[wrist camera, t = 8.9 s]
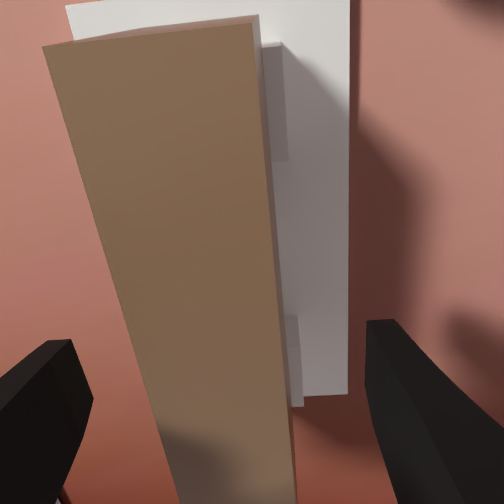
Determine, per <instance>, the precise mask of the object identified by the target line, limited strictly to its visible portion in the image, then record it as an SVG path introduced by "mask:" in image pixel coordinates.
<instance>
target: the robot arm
mask: <svg viewBox="0 0 504 504" xmlns="http://www.w3.org/2000/svg"><path fill="white" fill-rule="evenodd" d="M365 388H366V393H367V398H368V403H369V408H370V413H371V418H372V423H373V427H374V430H375V433H376V436H377V439H378V443H379V446H380V449H381V452H382V455H383V458H384V461H385V465H386V468H387V471H388V474H389V477H390V480H391V483H392V486H393V489H394V492H395V496H396V499H397V502H398V504H504V428H503V427H502V426H501V425H499V424H498V423H497V422H496V421H495V420H494V419H492V418H491V417H490V416H489V415H488V414H487V413H486V412H485V411H483V410H482V409H481V408H480V407H479V406H478V405H477V404H476V403H474V402H473V401H472V400H471V399H470V398H469V397H468V396H467V395H466V394H465V393H464V392H463V391H462V390H461V389H460V388H458V387H457V386H456V385H455V384H454V383H453V382H452V381H451V380H450V379H449V378H448V377H447V376H446V375H445V374H444V373H443V372H442V371H441V370H440V369H439V368H438V367H437V366H436V365H435V364H434V362H433V361H432V360H431V359H430V358H429V357H428V356H427V355H426V354H425V353H424V352H423V351H422V350H421V349H420V348H419V346H418V345H417V344H416V343H415V342H414V341H413V340H412V339H411V338H410V336H409V335H408V334H407V333H406V332H405V331H404V330H403V328H402V327H401V326H400V325H399V324H398V323H397V322H396V321H395V320H394V319H386V320H370V321H367V330H366V363H365ZM93 400H94V398H93V395H92V393H91V390H90V387H89V385H88V382H87V379H86V377H85V374H84V372H83V369H82V366H81V364H80V361H79V359H78V356H77V353H76V351H75V348H74V345H73V343H72V340H71V339H65V340H49V341H46V342H45V343H43V344H42V345H41V346H39V347H38V348H37V349H35V350H34V351H33V352H32V353H30V354H29V355H28V356H26V357H25V358H24V359H23V360H22V361H20V362H19V363H18V364H17V365H15V366H14V367H13V368H12V369H11V370H9V371H8V372H7V373H6V374H4V375H3V376H2V377H1V378H0V504H61V503H60V501H59V499H58V496H59V494H60V492H61V489H62V487H63V485H64V482H65V480H66V478H67V475H68V473H69V471H70V468H71V466H72V463H73V461H74V459H75V456H76V454H77V451H78V449H79V446H80V444H81V441H82V439H83V436H84V433H85V429H86V426H87V422H88V419H89V415H90V411H91V407H92V403H93Z"/></svg>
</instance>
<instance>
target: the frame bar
mask: <svg viewBox="0 0 504 504" xmlns="http://www.w3.org/2000/svg"><path fill="white" fill-rule="evenodd" d="M42 49H43V52H44V55H45V59H46V62H47V65H48V68H49V72H50V75H51V78H52V82H53V85H54V88H55V91H56V95H57V98H58V101H59V105H60V108H61V111H62V115H63V118H64V121H65V124H66V128H67V131H68V134H69V138H70V141H71V144H72V147H73V151H74V154H75V157H76V161H77V164H78V167H79V171H80V174H81V177H82V180H83V184H84V187H85V190H86V194H87V197H88V200H89V203H90V207H91V210H92V213H93V217H94V220H95V223H96V227H97V230H98V233H99V236H100V240H101V243H102V246H103V250H104V253H105V256H106V260H107V263H108V266H109V269H110V273H111V276H112V279H113V283H114V286H115V289H116V292H117V296H118V299H119V302H120V306H121V309H122V312H123V316H124V319H125V322H126V325H127V329H128V332H129V335H130V339H131V342H132V345H133V348H134V352H135V355H136V358H137V362H138V365H139V368H140V372H141V375H142V378H143V381H144V385H145V388H146V391H147V395H148V398H149V401H150V405H151V408H152V411H153V414H154V418H155V421H156V424H157V428H158V431H159V434H160V437H161V441H162V444H163V447H164V451H165V454H166V457H167V461H168V464H169V467H170V470H171V474H172V477H173V480H174V484H175V487H176V490H177V493H178V497H179V500H180V503H181V504H298V499H297V482H296V466H295V449H294V432H293V416H292V403H291V391H290V379H289V367H288V355H287V343H286V331H285V319H284V307H283V295H282V283H281V271H280V259H279V247H278V235H277V224H276V212H275V200H274V188H273V176H272V164H271V152H270V140H269V128H268V116H267V104H266V92H265V80H264V68H263V56H262V45H261V33H260V21H259V14H256V15H248V16H239V17H231V18H222V19H213V20H205V21H196V22H187V23H179V24H170V25H161V26H153V27H144V28H137V29H132V30H127V31H122V32H116V33H111V34H106V35H101V36H95V37H90V38H85V39H80V40H75V41H69V42H64V43H59V44H54V45H48V46H43V47H42Z"/></svg>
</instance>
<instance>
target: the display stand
mask: <svg viewBox="0 0 504 504" xmlns="http://www.w3.org/2000/svg"><path fill="white" fill-rule="evenodd" d="M65 7H66V11H67V15H68V19H69V22H70V26H71V30H72V34H73V37H74V41H75V40H80V39H85V38H90V37H95V36H101V35H106V34H111V33H116V32H122V31H127V30H132V29H137V28H144V27H153V26H161V25H170V24H179V23H187V22H196V21H205V20H213V19H222V18H231V17H239V16H248V15H256V14H259V21H260V33H261V45H262V56H263V68H264V80H265V92H266V104H267V116H268V128H269V140H270V152H271V164H272V176H273V188H274V200H275V212H276V224H277V235H278V247H279V259H280V271H281V283H282V295H283V307H284V319H285V331H286V343H287V355H288V367H289V379H290V391H291V403H292V407H304V396H319V395H340V394H348V246H349V61H350V0H106V1H97V2H89V3H81V4H72V5H65Z"/></svg>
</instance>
